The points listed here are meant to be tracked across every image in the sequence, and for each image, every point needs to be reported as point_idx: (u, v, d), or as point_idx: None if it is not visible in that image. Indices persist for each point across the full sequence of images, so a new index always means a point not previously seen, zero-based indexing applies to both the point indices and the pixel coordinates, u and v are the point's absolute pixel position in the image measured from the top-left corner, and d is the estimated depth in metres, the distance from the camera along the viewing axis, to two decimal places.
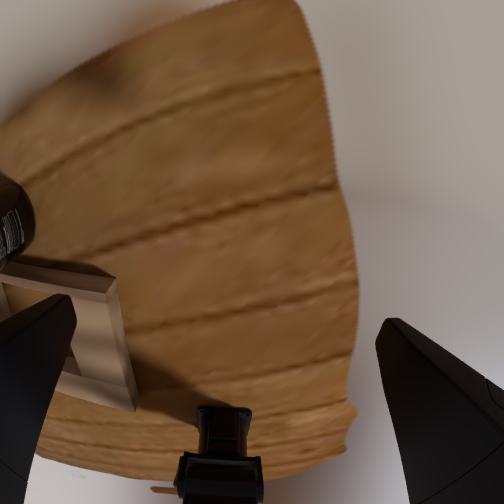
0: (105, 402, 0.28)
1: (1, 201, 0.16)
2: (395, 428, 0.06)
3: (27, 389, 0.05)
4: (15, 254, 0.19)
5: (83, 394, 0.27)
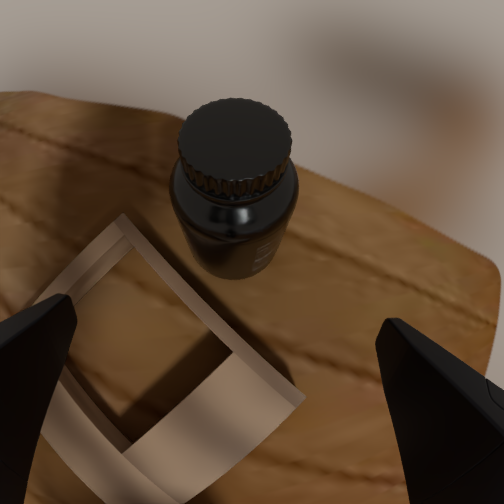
0: (106, 496, 0.13)
1: None
2: (395, 428, 0.06)
3: (27, 389, 0.05)
4: (239, 270, 0.18)
5: (82, 466, 0.14)
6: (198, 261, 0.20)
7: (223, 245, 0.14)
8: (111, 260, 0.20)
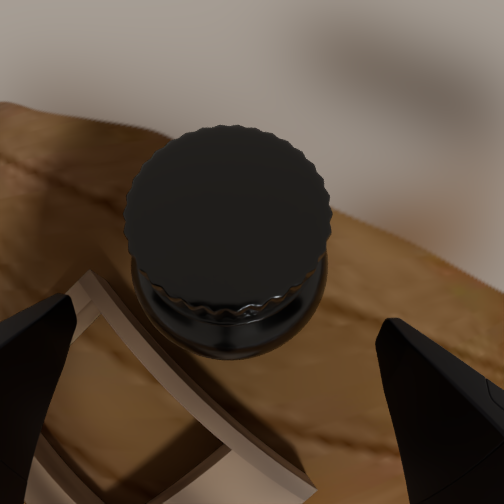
0: None
1: None
2: (395, 428, 0.06)
3: (27, 389, 0.05)
4: None
5: None
6: None
7: None
8: (80, 325, 0.15)
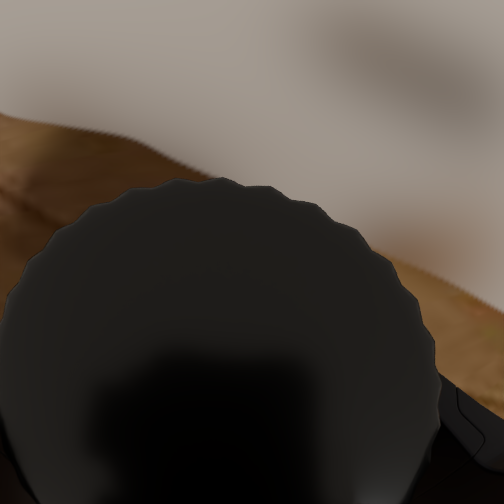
0: None
1: None
2: None
3: None
4: None
5: None
6: None
7: None
8: None
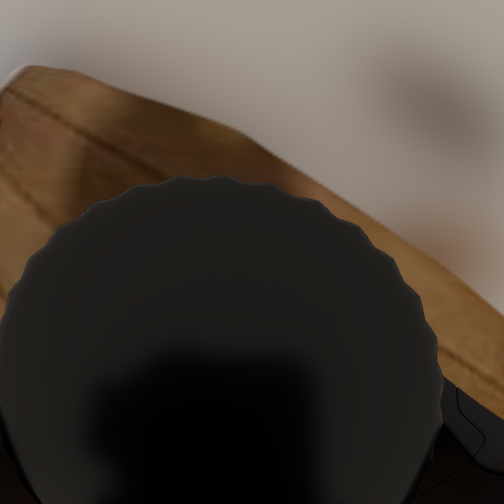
0: None
1: None
2: None
3: None
4: None
5: None
6: None
7: None
8: None
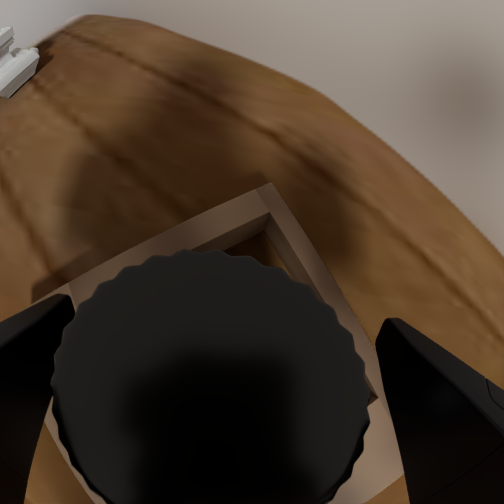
0: None
1: None
2: (395, 428, 0.06)
3: (27, 389, 0.05)
4: None
5: None
6: None
7: None
8: (233, 240, 0.16)
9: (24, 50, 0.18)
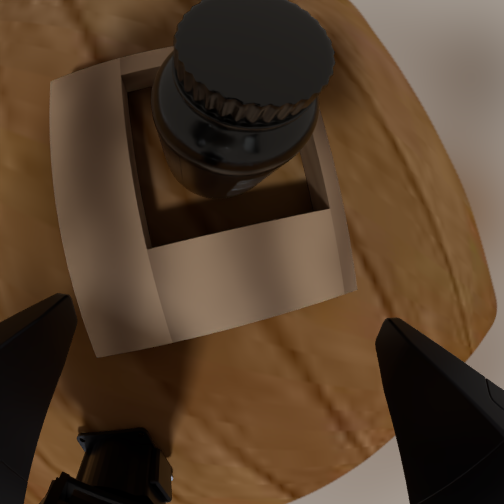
0: (87, 296, 0.15)
1: None
2: (395, 428, 0.06)
3: (26, 389, 0.05)
4: (211, 192, 0.15)
5: (81, 246, 0.14)
6: (169, 167, 0.16)
7: (198, 168, 0.10)
8: None
9: None
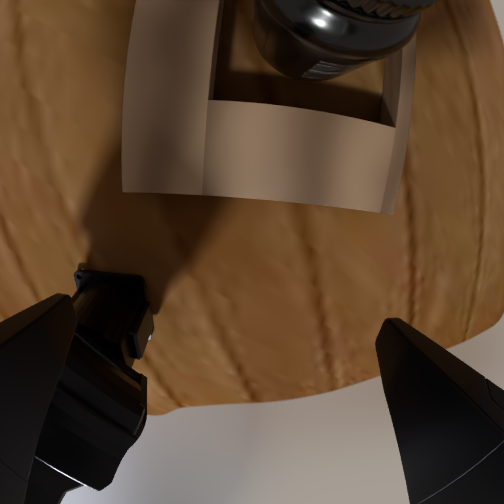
0: (133, 130, 0.15)
1: None
2: (395, 428, 0.06)
3: (27, 389, 0.05)
4: (289, 66, 0.13)
5: (143, 82, 0.13)
6: (254, 34, 0.13)
7: (286, 34, 0.08)
8: None
9: None
